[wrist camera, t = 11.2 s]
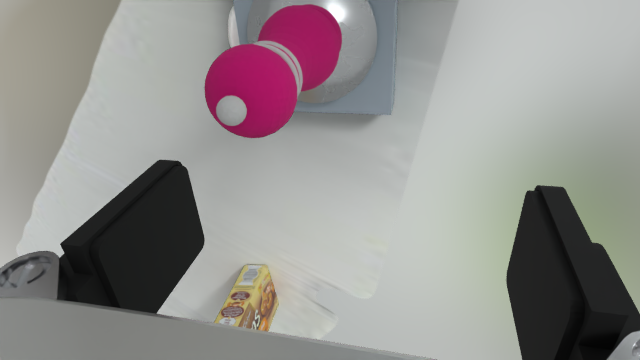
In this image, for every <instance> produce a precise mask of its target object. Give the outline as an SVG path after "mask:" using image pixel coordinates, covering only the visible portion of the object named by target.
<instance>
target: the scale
mask: <svg viewBox="0 0 640 360" xmlns="http://www.w3.org/2000/svg"><path fill="white" fill-rule="evenodd" d="M253 1H254V0H233V3H234V5H233V7H232V8H231V10H230V13H229V18H228V39H229V45H230V48H232V47H234V46H238V45H242V44H248V37H247V22H248V16H249V12H250V8H251V5H252V3H253ZM368 1H369V3H370V5H371V7H372V9H373V12H374V15H375V19H376V24H377V33H378V40H377V49H376V54H375V57H374V60H373V63H372V65H371V67H370V69H369V71H368V73H367V75H366V76H365V78H364V79H363V81H362V82H361V83H360V84H359V85H358V86H357V87H356V88H355V89H354V90H352V91H351V92H350V93H348V94H347V95H345V96H343V97H341V98H339V99H337V100H333V101H330V102H325V103H306V102H302V101H298V100H297V103H296V106H295V109H294V112H323V113H351V114H380V115H391V113H392V108H393V104H394V87H395V62H396V37H397V11H398V0H368Z"/></svg>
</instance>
